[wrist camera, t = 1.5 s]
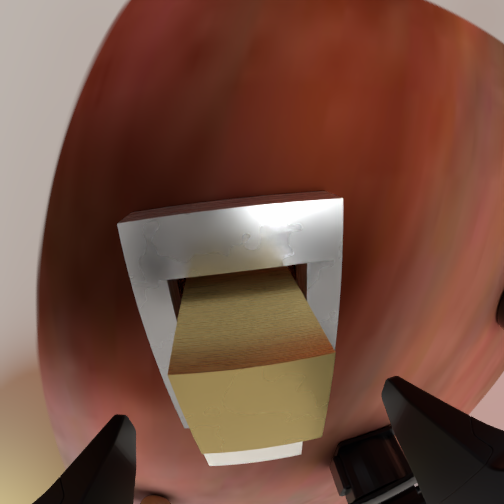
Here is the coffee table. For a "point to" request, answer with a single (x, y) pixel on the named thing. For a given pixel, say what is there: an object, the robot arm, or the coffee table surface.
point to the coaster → (254, 455)
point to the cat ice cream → (154, 500)
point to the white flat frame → (232, 255)
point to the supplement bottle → (501, 313)
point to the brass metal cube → (250, 361)
